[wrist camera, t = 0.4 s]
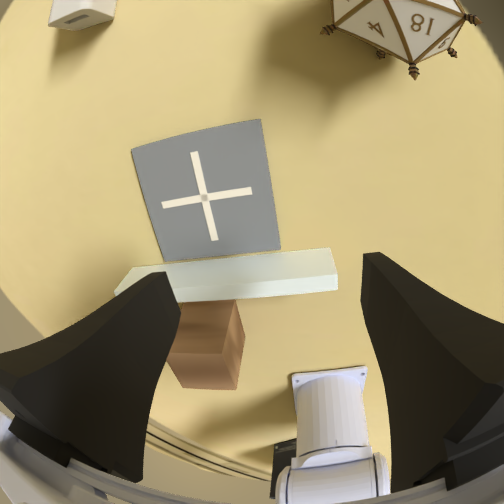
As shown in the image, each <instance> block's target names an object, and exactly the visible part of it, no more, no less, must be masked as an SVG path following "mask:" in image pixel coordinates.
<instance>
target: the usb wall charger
mask: <svg viewBox="0 0 504 504" xmlns="http://www.w3.org/2000/svg"><path fill="white" fill-rule="evenodd" d="M116 4H117V0H53V3H52V7H51V12H50V17H49V22H48V26H49V27H55V28H61V29H67V30H73V31H76V30H82V29H85V28H88V27H90V26H93V25H97V24H100V23H103V22H106V21H110V20H113V19H114V15H115V9H116Z"/></svg>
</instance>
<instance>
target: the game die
mask: <svg viewBox="0 0 504 504" xmlns="http://www.w3.org/2000/svg"><path fill="white" fill-rule="evenodd" d="M331 9H332V25H326V27H323V29H322V31H321V32H320V34H328V35H330V33H333V31H334V30H336V29H337V30H339V31H342V32H344V33H346V34H349V35H351V36H353V37H355V38H357V39H359V40H361V41H363V42H366V43H368V44H370V45H372V46H373V47H375V48H377V49H379V51H377V52H378V53H376V54H377V55H378V57H379V59H382V58H385V53H388V54H390V55H392V56H394V57H396V58H398V59H400V60H402V61H404V62H406V63H408V64H409V65H410V67H409V69H408V70H409V75H411V76H412V77H413V79H414V80H416V78H417V76H418V75H419V74H420V73H418V70H419V69H418V68H417V67H416V64H417V63H419V62H421V61H423V60H425V59H428V58H430V57H432V56H434V55H436V54H439V53H441V52H443V51H445V50H447V51H448V54H450V56H451V57H455V58H457V52H456V51H454V49H453V48H451V47H450V46H451V44H452V43H453V41H454V39H455V38H456V36H457V34H458V33H459V31H460V29H461V27H462V26H463V24H464V22H465V20H467V21H469V22H470V24H474V25H475V26H476V25H477V24H481V23H482V22H481V21H480V20H479V19H478V18H477V17H476V15H474V16H473V15H472V14H468V15H467V14H465V12H464V10H463V8H462V6H461V5H460V3H459V1H458V0H331Z"/></svg>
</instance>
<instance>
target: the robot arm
mask: <svg viewBox="0 0 504 504" xmlns="http://www.w3.org/2000/svg"><path fill="white" fill-rule="evenodd" d="M360 301H361V306H362V310H363V315H364V320H365V324H366V327H367V330H368V333H369V336H370V339H371V342H372V345H373V348H374V351H375V354H376V357H377V361H378V364H379V367H380V370H381V374H382V378H383V382H384V386H385V393H386V399H387V406H388V414H389V423H390V435H391V458H392V465H391V494H390V483H389V472H388V466H387V461H386V458H385V456H383V455H381V454H380V453H379V452H377V453H374V454H373V455H372V446H369V438H368V430H367V423H366V416H365V410H364V404H363V398H362V393H363V388H364V384H365V380H366V375H367V371H368V370H367V367H366V366H360V367H353V368H345V369H337V370H329V371H319V372H308V373H296V374H293V375H292V386H293V394H294V402H295V410H296V415H297V451H296V458H292V461H291V466H286V467H285V468H284V469H283V471H282V472H281V473H280V474H279V476H278V479H277V483H276V491H275V500H276V504H504V324H503V323H500V322H498V321H495V320H493V319H490V318H488V317H486V316H483V315H481V314H479V313H477V312H474V311H472V310H470V309H468V308H466V307H464V306H462V305H460V304H459V303H457V302H455V301H453V300H451V299H449V298H448V297H446V296H444V295H442V294H441V293H439V292H438V291H436V290H435V289H433V288H431V287H430V286H428V285H427V284H425V283H424V282H422V281H421V280H419V279H418V278H416V277H415V276H414V275H412V274H411V273H409V272H408V271H407V270H405V269H404V268H402V267H401V266H400V265H398V264H397V263H395V262H394V261H393V260H391V259H390V258H388V257H387V256H385V255H384V254H382V253H381V252H374V253H365V254H363V270H362V287H361V300H360ZM180 317H181V311H180V308H179V306H178V303H177V301H176V298H175V295H174V293H173V290H172V287H171V284H170V282H169V279H168V276H167V273H166V271H163V272H152V273H150V274H148V275H146V276H145V277H143V278H141V279H140V280H138V281H137V282H135V283H134V284H133V285H131V286H130V287H128V288H127V289H125V290H124V291H123V292H121V293H120V294H119V295H117V296H116V297H114V298H113V299H112V300H110V301H109V302H107V303H106V304H104V305H103V306H101V307H100V308H98V309H97V310H96V311H94V312H93V313H91V314H90V315H88V316H87V317H85V318H83V319H82V320H80V321H78V322H77V323H75V324H73V325H71V326H70V327H68V328H66V329H64V330H62V331H60V332H58V333H56V334H54V335H52V336H50V337H48V338H45V339H43V340H41V341H38V342H36V343H33V344H31V345H28V346H25V347H22V348H19V349H16V350H12V351H8V352H5V353H1V354H0V401H1V402H2V403H3V404H4V405H5V406H6V407H7V408H8V409H9V410H10V411H11V412H12V413H13V414H14V415H15V417H14V419H13V420H12V419H10V418H9V417H8V416H7V415H5V414H4V413H3V412H1V411H0V486H1V488H2V489H3V490H4V492H5V493H6V495H7V496H8V497H9V499H10V500H11V501H12V503H13V504H114V503H112V502H109V501H108V499H107V496H106V494H109V495H111V496H113V497H116V498H118V499H121V500H123V501H126V502H129V503H132V504H229V503H220V502H213V501H206V500H200V499H194V498H189V497H184V496H180V495H175V494H171V493H166V492H163V491H159V490H155V489H151V488H148V487H145V486H141V485H138V484H135V483H137V482H139V481H141V480H142V479H143V459H144V458H143V457H144V446H145V438H146V430H147V424H148V419H149V414H150V409H151V404H152V400H153V396H154V392H155V388H156V385H157V382H158V379H159V377H160V374H161V372H162V369H163V367H164V364H165V362H166V359H167V357H168V354H169V352H170V349H171V347H172V344H173V342H174V339H175V336H176V333H177V329H178V326H179V321H180ZM102 471H103V472H102ZM104 472H105V473H104ZM107 473H108V474H107ZM109 474H111V475H109ZM112 475H113V476H112ZM115 476H116V477H115ZM117 477H119V478H117ZM120 478H121V479H120ZM123 479H124V480H123ZM126 480H127V481H126ZM129 481H130V482H129ZM132 482H133V483H132ZM103 492H104V493H103ZM105 493H106V494H105Z"/></svg>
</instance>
